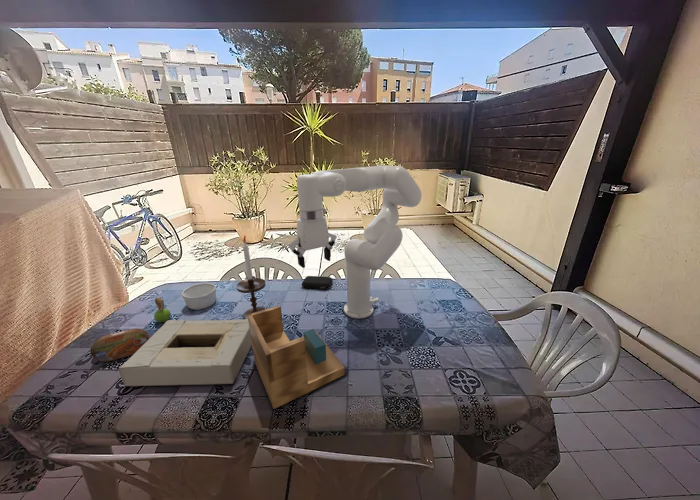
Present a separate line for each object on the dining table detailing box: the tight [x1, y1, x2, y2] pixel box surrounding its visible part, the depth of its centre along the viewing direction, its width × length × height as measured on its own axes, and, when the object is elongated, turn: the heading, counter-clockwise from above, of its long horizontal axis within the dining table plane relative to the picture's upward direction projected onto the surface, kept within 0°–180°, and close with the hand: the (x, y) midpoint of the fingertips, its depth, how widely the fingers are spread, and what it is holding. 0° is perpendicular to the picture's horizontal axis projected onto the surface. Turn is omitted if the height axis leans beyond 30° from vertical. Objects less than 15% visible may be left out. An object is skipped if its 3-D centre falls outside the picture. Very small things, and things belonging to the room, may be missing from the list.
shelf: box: [247, 304, 346, 410], centre depth 82 cm, size 22×20×18 cm
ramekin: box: [181, 282, 217, 311], centre depth 120 cm, size 13×13×7 cm
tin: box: [89, 328, 150, 362], centre depth 90 cm, size 15×3×8 cm, turn 117°
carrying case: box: [301, 275, 334, 290], centre depth 136 cm, size 11×3×15 cm
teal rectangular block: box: [303, 328, 327, 364], centre depth 86 cm, size 4×9×6 cm, turn 32°
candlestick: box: [236, 234, 267, 319], centre depth 106 cm, size 11×11×35 cm
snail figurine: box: [153, 296, 171, 323], centre depth 106 cm, size 5×6×12 cm
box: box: [118, 318, 252, 387], centre depth 88 cm, size 23×8×32 cm
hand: (315, 263), depth 93 cm, fingers open, 9 cm apart
